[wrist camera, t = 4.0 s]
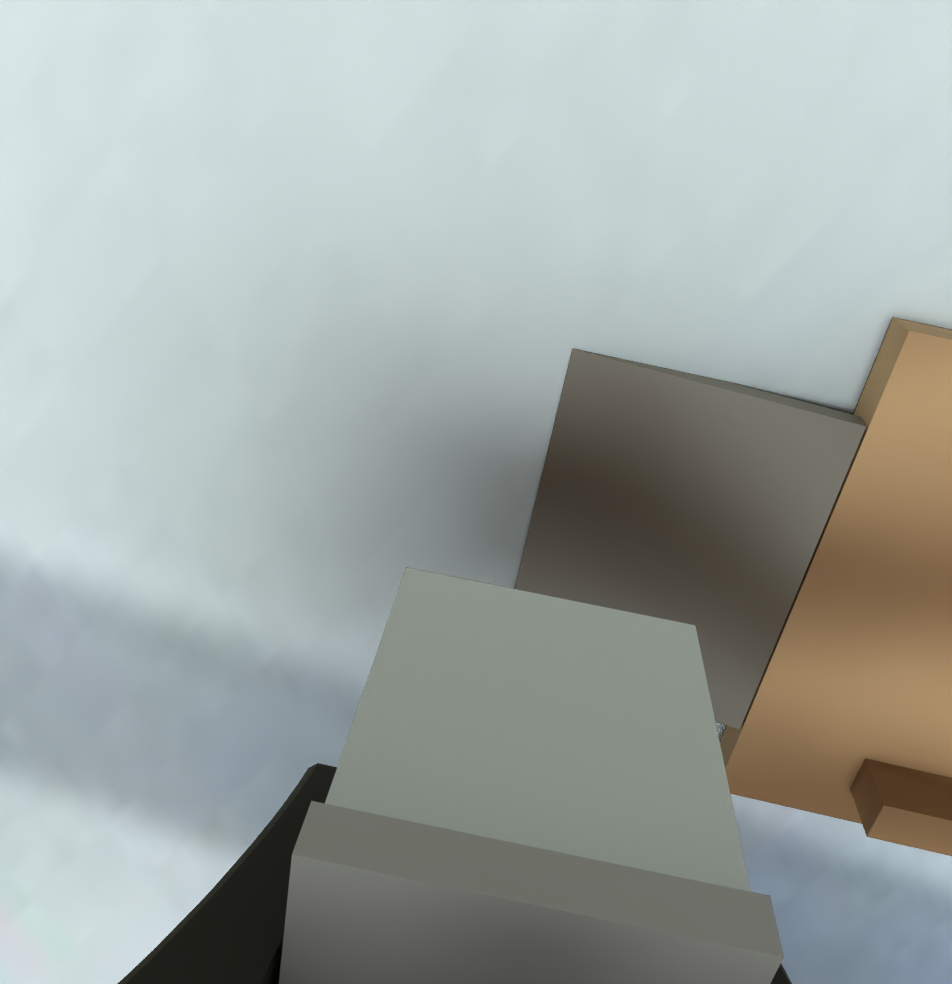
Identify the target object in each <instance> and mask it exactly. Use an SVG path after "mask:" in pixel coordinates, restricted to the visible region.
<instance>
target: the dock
mask: <svg viewBox="0 0 952 984" xmlns="http://www.w3.org/2000/svg"><path fill="white" fill-rule="evenodd" d="M515 589H517V590H522V591H527V592H532V593H537V594H542V595H547V596H552V597H557V598H562V599H566V600H571V601H576V602H581V603H586V604H591V605H596V606H601V607H606V608H611V609H616V610H621V611H626V612H631V613H636V614H641V615H646V616H651V617H656V618H661V619H666V620H671V621H676V622H681V623H686V624H691V625H695V626H696V631H697V636H698V641H699V646H700V650H701V655H702V660H703V665H704V670H705V674H706V679H707V684H708V689H709V693H710V698H711V703H712V708H713V713H714V717H715V722H718V723H721V724H724V725H727V726H726V728H725V731H724V733H723V736H722V738H721V741H720V746H721V751H722V756H723V761H724V765H725V770H726V775H727V780H728V785H729V789H730V794H734V795H739V796H743V797H748V798H752V799H756V800H761V801H765V802H769V803H774V804H778V805H783V806H787V807H791V808H796V809H800V810H804V811H809V812H813V813H818V814H822V815H826V816H831V817H835V818H839V819H844V820H848V821H852V822H857V823H861V824H863V827H864V830H865V833H866V835H867V837H871V838H875V839H880V840H884V841H888V842H893V843H897V844H901V845H906V846H910V847H914V848H919V849H923V850H928V851H932V852H936V853H941V854H945V855H949V856H952V330H949V329H945V328H940V327H935V326H931V325H926V324H921V323H916V322H912V321H907V320H902V319H897V318H893V319H892V321H891V323H890V326H889V328H888V331H887V333H886V336H885V338H884V341H883V343H882V346H881V348H880V350H879V353H878V355H877V358H876V360H875V363H874V365H873V368H872V370H871V373H870V375H869V377H868V380H867V382H866V385H865V387H864V390H863V392H862V395H861V397H860V400H859V402H858V404H857V407H856V409H855V412H854V414H849V413H845V412H842V411H838V410H834V409H830V408H826V407H822V406H819V405H815V404H811V403H807V402H803V401H800V400H796V399H792V398H788V397H784V396H781V395H777V394H773V393H769V392H765V391H762V390H758V389H754V388H750V387H746V386H742V385H739V384H735V383H731V382H727V381H722V380H717V379H713V378H708V377H704V376H699V375H694V374H690V373H685V372H680V371H676V370H671V369H666V368H662V367H657V366H652V365H648V364H643V363H638V362H634V361H629V360H624V359H620V358H615V357H610V356H606V355H601V354H596V353H592V352H587V351H582V350H578V349H572V353H571V357H570V361H569V366H568V370H567V374H566V378H565V382H564V386H563V390H562V395H561V399H560V403H559V407H558V411H557V415H556V419H555V424H554V428H553V432H552V436H551V440H550V444H549V448H548V453H547V457H546V461H545V465H544V469H543V473H542V477H541V482H540V486H539V490H538V494H537V498H536V502H535V506H534V511H533V515H532V519H531V523H530V527H529V531H528V535H527V539H526V544H525V548H524V552H523V556H522V560H521V564H520V568H519V573H518V577H517V581H516V585H515Z"/></svg>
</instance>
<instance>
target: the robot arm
mask: <svg viewBox="0 0 952 984" xmlns="http://www.w3.org/2000/svg"><path fill="white" fill-rule="evenodd" d="M336 770H337V767H332V766H328V765H323V764H319V763H317V764H316V765H314V766H312V767H310V768H308V770H307V771H306V773H305V774H304V776H303V777H302V779H301V780H300V782H299V783H298V785H297V786H296V788H295V789H294V790H293V792H292V793H291V795H290V796H289V797H288V799H287V800H286V802H285V803H284V804H283V806H282V807H281V808H280V810H279V811H278V812H277V813H276V815H275V816H274V817H273V819H272V820H271V821H270V822H269V824H268V825H267V826H266V827H265V828H264V830H263V831H262V832H261V833H260V835H259V836H258V837H257V838H256V840H255V841H254V842H253V843H252V844H251V846H250V847H249V848H248V849H247V850H246V851H245V852H244V854H243V855H242V856H241V857H240V858H239V859H238V860H237V862H236V863H235V864H234V865H233V866H232V867H231V868H230V870H229V871H228V872H227V873H226V874H225V875H224V876H223V878H222V879H221V880H220V881H219V882H218V883H217V884H216V886H215V887H214V888H213V889H212V890H211V891H210V892H209V893H208V894H207V895H206V897H205V898H204V899H203V900H202V901H201V902H200V903H199V904H198V905H197V906H196V907H195V908H194V909H193V910H192V911H191V912H190V913H189V914H188V915H187V916H186V917H185V918H184V919H183V920H182V921H181V922H180V923H179V924H178V925H177V926H176V927H175V928H174V929H173V931H172V932H171V933H170V934H169V935H168V936H167V937H166V938H165V939H164V940H163V941H162V942H161V943H160V944H159V945H158V946H157V947H156V948H155V949H154V950H153V951H152V952H151V953H150V954H149V955H148V956H147V957H146V958H145V959H143V960H142V961H141V962H140V963H139V964H138V965H137V966H136V967H135V968H134V969H133V970H132V971H131V972H130V973H129V974H128V975H127V976H126V977H124V978H123V979H122V980H121V981H120V982H119V983H118V984H279V977H280V967H281V957H282V947H283V937H284V928H285V918H286V908H287V898H288V888H289V878H290V869H291V859H292V853H293V850H294V847H295V845H296V842H297V839H298V836H299V834H300V831H301V828H302V825H303V823H304V820H305V817H306V814H307V812H308V809H309V806H310V803H311V801H315V802H319V803H324V804H325V801H326V798H327V796H328V793H329V790H330V787H331V784H332V781H333V778H334V775H335V772H336ZM770 984H792V983H791V981H790V980H789V978H788V976H787V974H786V972H785V970H784V968H783V966H782V964H780V966H779V968H778V970H777V971H776V973H775V975H774V977H773V979H772V981H771V983H770Z"/></svg>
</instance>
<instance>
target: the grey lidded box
mask: <svg viewBox="0 0 952 984" xmlns="http://www.w3.org/2000/svg"><path fill="white" fill-rule="evenodd" d="M783 958H784V956H783V951H782V947H781V943H780V938H779V934H778V930H777V925H776V921H775V916H774V912H773V908H772V903H771V899H770V896H768V895H764V894H759V893H754V892H751V890H750V885H749V880H748V876H747V871H746V866H745V861H744V857H743V852H742V847H741V842H740V837H739V833H738V828H737V823H736V818H735V813H734V809H733V804H732V799H731V794H730V789H729V785H728V780H727V775H726V770H725V765H724V761H723V756H722V751H721V746H720V741H719V737H718V732H717V727H716V722H715V717H714V713H713V708H712V703H711V698H710V693H709V689H708V684H707V679H706V674H705V670H704V665H703V660H702V655H701V650H700V646H699V641H698V636H697V631H696V626H695V625H691V624H686V623H681V622H676V621H671V620H666V619H661V618H656V617H651V616H646V615H641V614H636V613H631V612H626V611H621V610H616V609H611V608H606V607H601V606H596V605H591V604H586V603H581V602H576V601H571V600H566V599H562V598H557V597H552V596H547V595H542V594H537V593H532V592H527V591H522V590H517V589H512V588H507V587H502V586H497V585H492V584H487V583H482V582H477V581H472V580H467V579H462V578H457V577H452V576H447V575H442V574H437V573H432V572H427V571H422V570H417V569H412V568H407V567H406V570H405V572H404V575H403V578H402V581H401V584H400V587H399V590H398V593H397V596H396V599H395V601H394V604H393V607H392V610H391V613H390V616H389V619H388V622H387V625H386V627H385V630H384V633H383V636H382V639H381V642H380V645H379V648H378V651H377V654H376V656H375V659H374V662H373V665H372V668H371V671H370V674H369V677H368V680H367V683H366V685H365V688H364V691H363V694H362V697H361V700H360V703H359V706H358V709H357V712H356V714H355V717H354V720H353V723H352V726H351V729H350V732H349V735H348V738H347V741H346V743H345V746H344V749H343V752H342V755H341V758H340V761H339V764H338V767H337V770H336V772H335V775H334V778H333V781H332V784H331V787H330V790H329V793H328V796H327V798H326V801H325V804H324V803H319V802H315V801H311V803H310V806H309V809H308V812H307V814H306V817H305V820H304V823H303V825H302V828H301V831H300V834H299V836H298V839H297V842H296V845H295V847H294V850H293V853H292V859H291V869H290V878H289V888H288V898H287V908H286V918H285V928H284V937H283V947H282V957H281V967H280V977H279V984H770V983H771V981H772V979H773V977H774V975H775V973H776V971H777V970H778V968H779V966H780V964H781V962H782V960H783Z"/></svg>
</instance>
